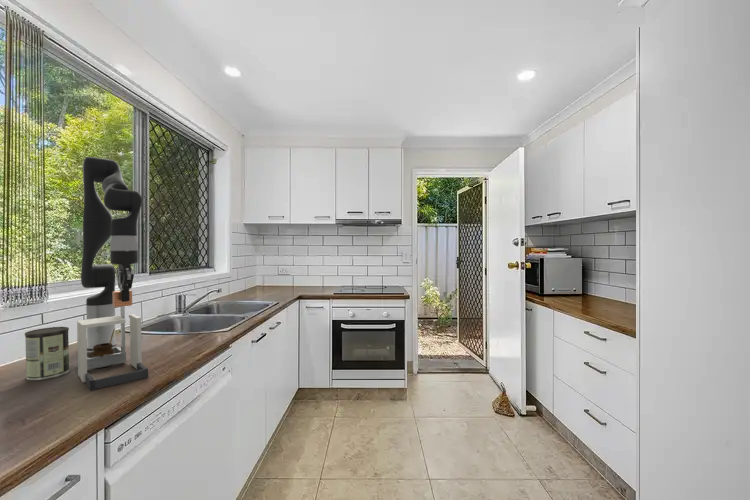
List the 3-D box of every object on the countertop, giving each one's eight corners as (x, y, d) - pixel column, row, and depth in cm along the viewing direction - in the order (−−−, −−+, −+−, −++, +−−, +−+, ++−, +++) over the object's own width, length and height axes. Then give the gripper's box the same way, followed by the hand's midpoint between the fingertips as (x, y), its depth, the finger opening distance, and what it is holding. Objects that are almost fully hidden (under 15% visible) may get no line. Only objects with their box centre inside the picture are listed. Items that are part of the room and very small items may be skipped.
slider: (80, 362, 123) (79, 291, 123) (124, 354, 132) (123, 288, 132) (86, 370, 115) (84, 294, 115) (133, 361, 124) (132, 290, 124)
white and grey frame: (77, 374, 114) (77, 320, 113) (133, 363, 124) (133, 313, 124) (83, 382, 107) (82, 325, 106) (141, 369, 117) (141, 317, 117)
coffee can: (49, 368, 119) (48, 326, 119) (78, 369, 118) (77, 326, 118) (15, 380, 109) (14, 333, 109) (46, 381, 108) (45, 334, 108)
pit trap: (85, 382, 107) (85, 374, 107) (140, 370, 117) (140, 362, 117) (90, 390, 100) (90, 381, 100) (148, 377, 111) (148, 369, 110)
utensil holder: (94, 364, 123) (93, 329, 123) (116, 361, 126) (116, 327, 126) (89, 369, 118) (89, 333, 118) (113, 366, 121) (112, 330, 121)
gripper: (106, 250, 122) (107, 301, 122) (115, 249, 113) (116, 304, 113) (132, 249, 128) (133, 298, 128) (142, 249, 119) (143, 301, 119)
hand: (125, 301), depth 120 cm, fingers closed
